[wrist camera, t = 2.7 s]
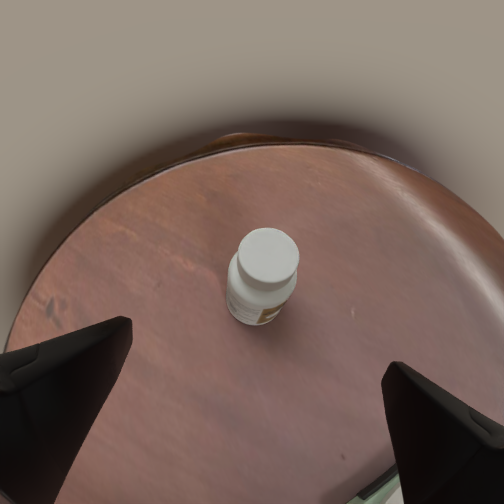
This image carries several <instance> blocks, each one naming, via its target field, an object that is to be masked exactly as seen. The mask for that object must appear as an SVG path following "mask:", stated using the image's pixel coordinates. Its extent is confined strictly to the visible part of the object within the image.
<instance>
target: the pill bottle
mask: <svg viewBox="0 0 504 504" xmlns="http://www.w3.org/2000/svg"><path fill="white" fill-rule="evenodd" d="M298 264H299V252H298V248H297V246H296V244H295V243H294V241H293V240H292V239H291V238H290V237H289V236H288V235H287V234H285V233H284V232H282V231H280V230H277V229H273V228H260V229H256V230H254V231H252V232H250V233H249V234H247V235H246V236H245V237H244V238H243V240H242V241H241V243H240V245H239V249H238V252H237V253H236V254H235V255H234V256H233V258H232V260H231V262H230V265H229V268H228V279H227V291H226V302H227V306H228V308H229V310H230V312H231V314H232V315H233V316H234V317H235V318H236V319H238V320H239V321H241V322H243V323H245V324H249V325H262V324H265V323H268V322H270V321H271V320H272V319H274V318H275V317H276V316H277V314H278V313H279V311H280V310H281V308H282V307H283V305H284V304H285V303H286V301H287V299H288V298H289V297H290V295H291V294H292V292H293V290H294V288H295V285H296V281H297V271H296V269H297V267H298Z"/></svg>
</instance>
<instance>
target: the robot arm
mask: <svg viewBox="0 0 504 504" xmlns="http://www.w3.org/2000/svg"><path fill="white" fill-rule="evenodd" d="M132 340H133V335H132V320H131V319H130V318H127V317H124V316H118V317H115V318H112V319H109V320H106V321H103V322H100V323H97V324H94V325H92V326H89V327H86V328H83V329H80V330H77V331H74V332H71V333H68V334H65V335H62V336H59V337H56V338H53V339H50V340H47V341H44V342H41V343H40V344H39V343H38V344H35V345H32V346H29V347H25V348H22V349H19V350H15V351H11V352H7V353H3V354H0V504H54V502H55V500H56V498H57V496H58V493H59V491H60V489H61V487H62V485H63V483H64V481H65V478H66V476H67V474H68V472H69V470H70V468H71V466H72V464H73V462H74V460H75V458H76V456H77V454H78V452H79V450H80V448H81V446H82V444H83V442H84V440H85V438H86V436H87V434H88V432H89V430H90V428H91V427H92V425H93V423H94V421H95V419H96V417H97V415H98V413H99V412H100V410H101V408H102V406H103V404H104V402H105V401H106V399H107V397H108V395H109V393H110V392H111V390H112V388H113V386H114V384H115V383H116V381H117V379H118V376H119V374H120V372H121V369H122V367H123V364H124V362H125V359H126V357H127V355H128V352H129V350H130V348H131V345H132ZM381 387H382V394H383V400H384V407H385V414H386V420H387V424H388V429H389V433H390V437H391V441H392V446H393V450H394V455H395V459H396V464H397V469H398V474H399V479H400V485H401V490H402V496H403V502H404V504H504V426H502V425H500V424H498V423H497V422H495V421H493V420H491V419H490V418H488V417H486V416H484V415H483V414H481V413H480V412H478V411H476V410H475V409H473V408H472V407H470V406H468V405H467V404H465V403H464V402H462V401H461V400H459V399H458V398H456V397H455V396H453V395H452V394H450V393H449V392H447V391H446V390H444V389H443V388H441V387H439V386H438V385H436V384H435V383H433V382H432V381H430V380H429V379H427V378H426V377H424V376H423V375H421V374H420V373H418V372H417V371H415V370H414V369H412V368H411V367H409V366H408V365H406V364H405V363H403V362H397V361H393V362H391V363H390V365H389V366H388V368H387V370H386V372H385V374H384V376H383V378H382V381H381Z"/></svg>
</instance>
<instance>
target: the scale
mask: <svg viewBox="0 0 504 504" xmlns="http://www.w3.org/2000/svg"><path fill="white" fill-rule="evenodd" d="M346 504H404V502H403V496H402V490H401V485H400V479H399V474H398V469H397V464H395V465H394V466H392V467H391V468H390V469H389V470H388V471H386V472H385V473H384V474H383V475H382V476H380V477H379V478H378V479H377V480H375V481H374V482H373V483H371V484H370V485H369V486H367V487H366V488H365V489H363V490H362V491H361V492H359V493H358V494H357V496H356V497H355V498H353V499H352V500H350V501H349V502H347V503H346Z"/></svg>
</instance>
